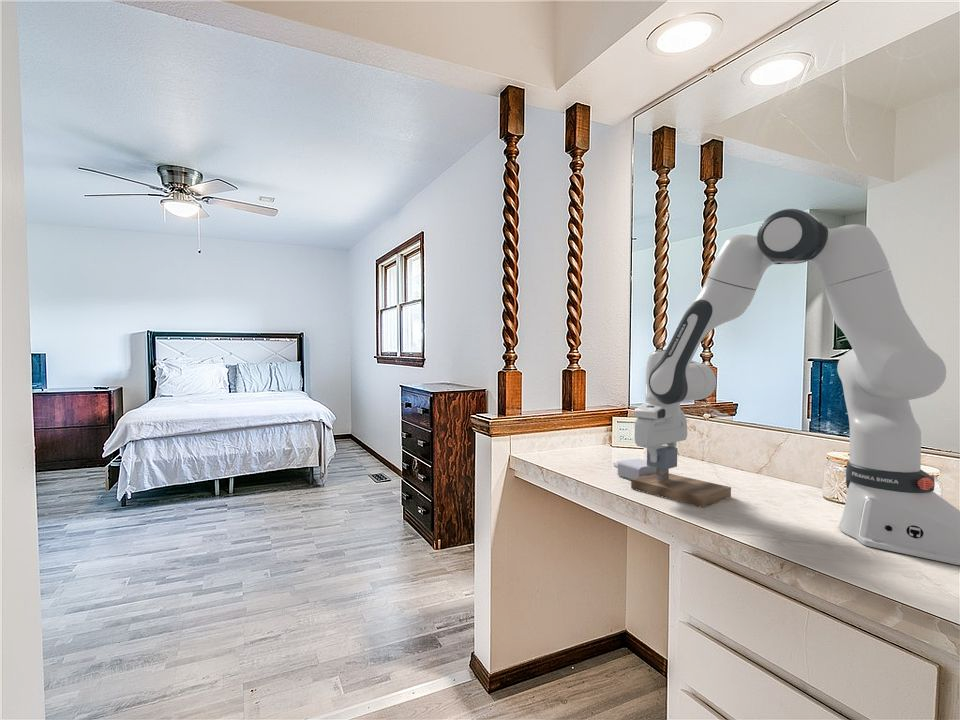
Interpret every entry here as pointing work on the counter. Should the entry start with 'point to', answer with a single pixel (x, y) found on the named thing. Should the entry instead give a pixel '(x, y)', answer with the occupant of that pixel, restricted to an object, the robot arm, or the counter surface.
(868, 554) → the counter surface
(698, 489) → the board
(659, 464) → the blue-grey cube block
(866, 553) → the counter surface
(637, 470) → the charger
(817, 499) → the counter surface
